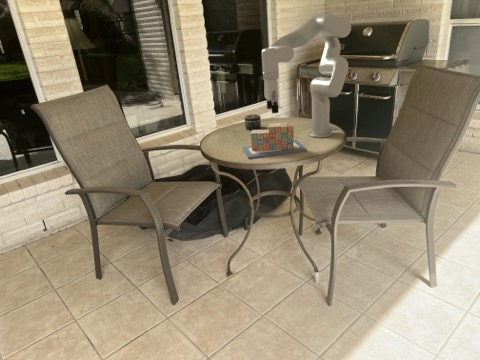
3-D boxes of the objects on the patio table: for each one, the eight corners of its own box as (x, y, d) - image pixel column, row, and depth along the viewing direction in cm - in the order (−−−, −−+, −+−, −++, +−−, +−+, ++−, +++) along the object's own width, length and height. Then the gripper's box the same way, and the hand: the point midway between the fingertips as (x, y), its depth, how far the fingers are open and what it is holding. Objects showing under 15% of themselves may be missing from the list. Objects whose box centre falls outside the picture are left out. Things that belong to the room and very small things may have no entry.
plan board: (297, 141, 200) (297, 139, 200) (306, 151, 186) (306, 149, 185) (242, 148, 197) (242, 146, 196) (248, 158, 182) (248, 156, 182)
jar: (255, 125, 237) (254, 113, 234) (264, 128, 229) (263, 116, 226) (242, 128, 233) (241, 116, 230) (250, 131, 225) (249, 119, 222)
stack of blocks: (251, 150, 189) (250, 127, 184) (252, 146, 195) (251, 124, 190) (293, 149, 186) (293, 125, 181) (293, 145, 192) (293, 122, 187)
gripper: (259, 73, 183) (261, 107, 190) (267, 79, 168) (269, 115, 175) (273, 72, 184) (275, 106, 191) (283, 77, 169) (284, 113, 176)
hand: (272, 110), depth 183 cm, fingers open, 9 cm apart
